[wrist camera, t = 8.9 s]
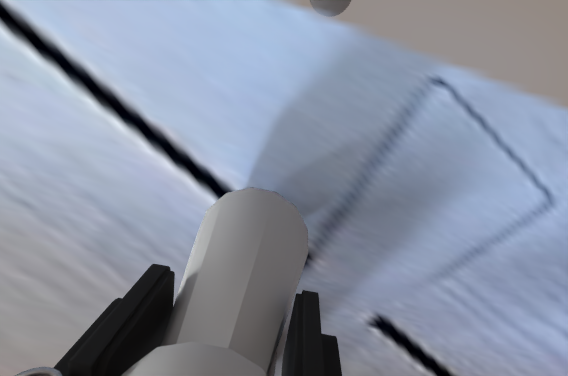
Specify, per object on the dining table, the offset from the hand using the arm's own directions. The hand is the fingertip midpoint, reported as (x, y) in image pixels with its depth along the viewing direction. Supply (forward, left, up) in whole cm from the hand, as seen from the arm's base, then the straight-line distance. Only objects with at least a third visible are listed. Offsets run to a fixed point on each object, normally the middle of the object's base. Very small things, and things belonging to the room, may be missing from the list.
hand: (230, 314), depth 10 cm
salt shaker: (0, 0, -8) cm, 8 cm away
